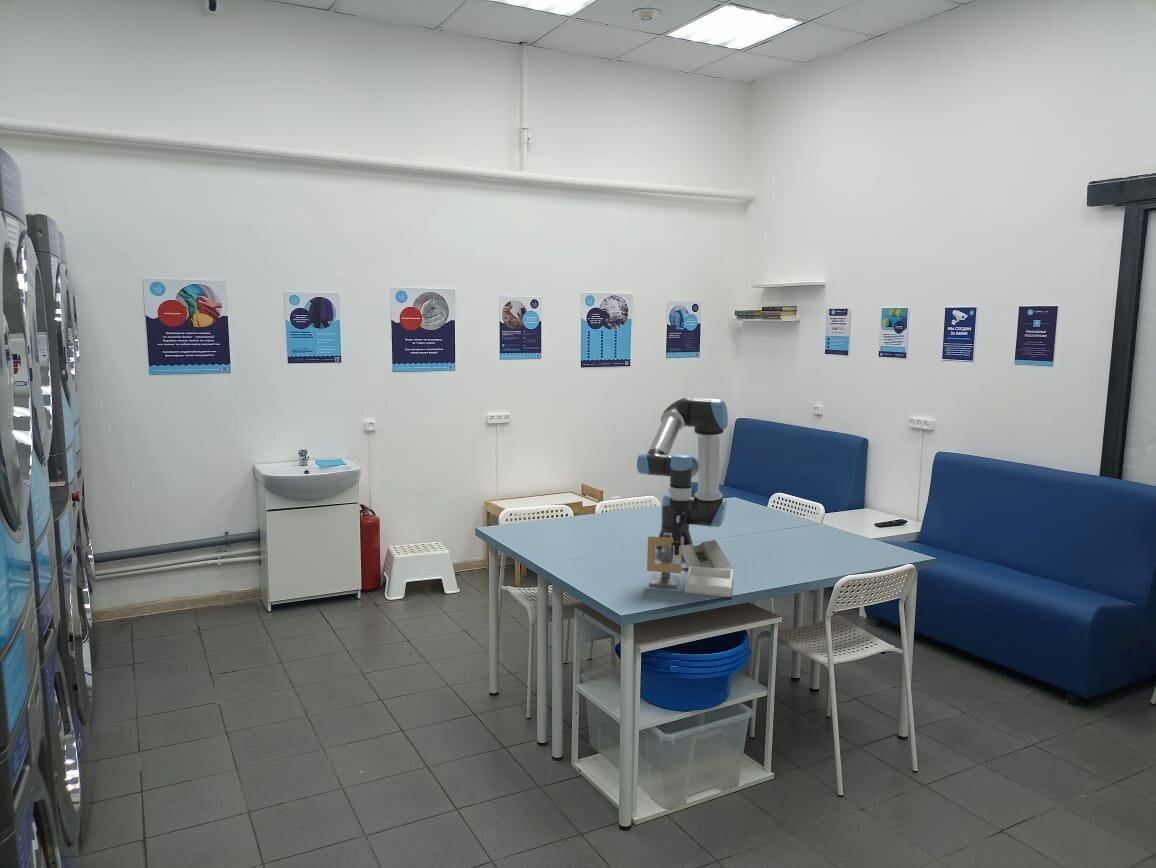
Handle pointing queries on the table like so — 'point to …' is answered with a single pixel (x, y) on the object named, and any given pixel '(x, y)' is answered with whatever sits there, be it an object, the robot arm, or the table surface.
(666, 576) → the hook stand
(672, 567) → the picture frame
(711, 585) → the tray
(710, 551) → the grey angular piece
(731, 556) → the table surface
